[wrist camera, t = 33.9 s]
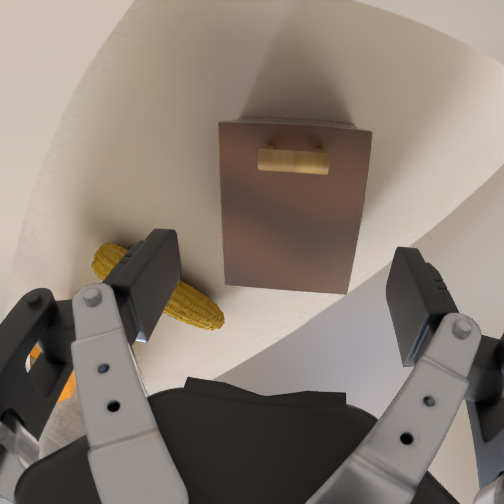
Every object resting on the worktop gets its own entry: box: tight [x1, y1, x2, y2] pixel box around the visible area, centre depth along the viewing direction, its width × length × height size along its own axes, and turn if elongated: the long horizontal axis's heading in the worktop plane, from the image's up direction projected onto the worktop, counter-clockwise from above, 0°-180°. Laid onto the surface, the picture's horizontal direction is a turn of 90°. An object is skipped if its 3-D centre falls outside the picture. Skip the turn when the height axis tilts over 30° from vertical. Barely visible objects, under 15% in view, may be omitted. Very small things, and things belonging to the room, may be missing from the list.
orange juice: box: [30, 344, 76, 403], centre depth 48 cm, size 8×9×20 cm
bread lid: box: [218, 121, 372, 294], centre depth 27 cm, size 16×13×5 cm
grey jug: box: [38, 386, 86, 459], centre depth 51 cm, size 13×17×40 cm
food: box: [92, 243, 225, 331], centre depth 44 cm, size 21×6×6 cm, turn 62°
